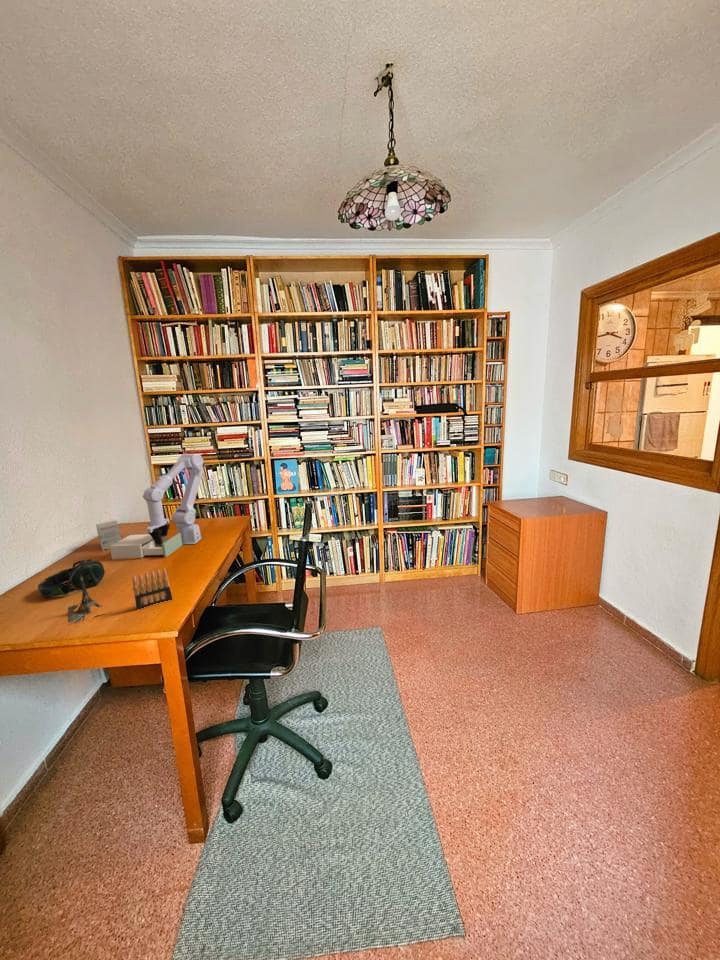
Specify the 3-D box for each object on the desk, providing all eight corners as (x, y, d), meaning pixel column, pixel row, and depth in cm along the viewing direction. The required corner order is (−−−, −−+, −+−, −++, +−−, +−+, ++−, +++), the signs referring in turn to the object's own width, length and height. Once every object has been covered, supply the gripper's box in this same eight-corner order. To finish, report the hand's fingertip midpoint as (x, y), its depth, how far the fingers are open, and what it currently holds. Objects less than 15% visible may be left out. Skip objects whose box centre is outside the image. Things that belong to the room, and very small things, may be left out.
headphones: (100, 559, 152) (39, 582, 140) (93, 544, 142) (27, 568, 130) (111, 586, 147) (50, 612, 136) (105, 573, 137) (38, 601, 126)
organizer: (160, 546, 178) (158, 533, 177) (142, 558, 164) (139, 545, 163) (132, 547, 179) (130, 534, 178) (112, 559, 165) (109, 546, 164)
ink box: (120, 541, 189) (116, 519, 186) (122, 545, 182) (118, 523, 180) (100, 546, 183) (95, 523, 181) (102, 550, 177) (97, 527, 174)
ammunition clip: (172, 597, 128) (166, 565, 126) (172, 600, 126) (167, 567, 124) (136, 607, 123) (130, 574, 120) (136, 610, 121) (130, 576, 119)
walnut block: (168, 543, 172) (167, 535, 171) (163, 547, 168) (162, 538, 167) (160, 544, 172) (159, 535, 172) (155, 547, 168) (153, 539, 168)
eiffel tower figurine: (68, 608, 126) (59, 572, 123) (104, 597, 132) (96, 563, 129) (67, 627, 114) (58, 588, 111) (106, 615, 120) (98, 577, 117)
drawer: (182, 545, 177) (180, 533, 176) (166, 557, 164) (163, 544, 162) (154, 546, 178) (152, 534, 177) (136, 558, 165) (133, 545, 163)
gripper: (157, 509, 175) (162, 537, 177) (137, 519, 160) (143, 548, 163) (171, 509, 174) (176, 536, 177) (153, 518, 160) (158, 548, 163)
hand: (161, 542), depth 170 cm, fingers closed on walnut block, 4 cm apart
